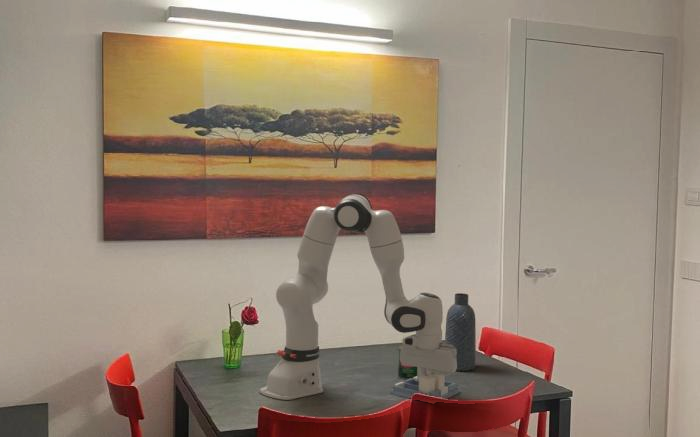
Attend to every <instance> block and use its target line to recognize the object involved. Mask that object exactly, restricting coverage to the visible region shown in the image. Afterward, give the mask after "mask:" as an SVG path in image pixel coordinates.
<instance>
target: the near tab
mask: <svg viewBox="0 0 700 437" xmlns="http://www.w3.org/2000/svg"><path fill="white" fill-rule="evenodd" d="M433 391H435V378H434V377H430V376H422V377H419V392H423V393H427V394H430V392H433Z"/></svg>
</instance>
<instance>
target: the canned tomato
mask: <svg viewBox="0 0 700 437" xmlns="http://www.w3.org/2000/svg"><path fill="white" fill-rule="evenodd" d="M403 345H404V344H401V345H399V346H398V364H397V365H398V366H397V378H398V379H401V380H404V381H405V380H408V379H410V378H412V379H413V377H416V376H417V367H415V366H409V365H404V364H402V363H401V362H400V352H401V347H402V346H403Z"/></svg>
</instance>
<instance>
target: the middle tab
mask: <svg viewBox="0 0 700 437" xmlns="http://www.w3.org/2000/svg"><path fill="white" fill-rule="evenodd" d="M429 376H430V377H434V378H435V390H439V389H440V388H443V387H444V381H445V374H444V373H440V372H437V371H436V372H434V373H432V374H429Z"/></svg>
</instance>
